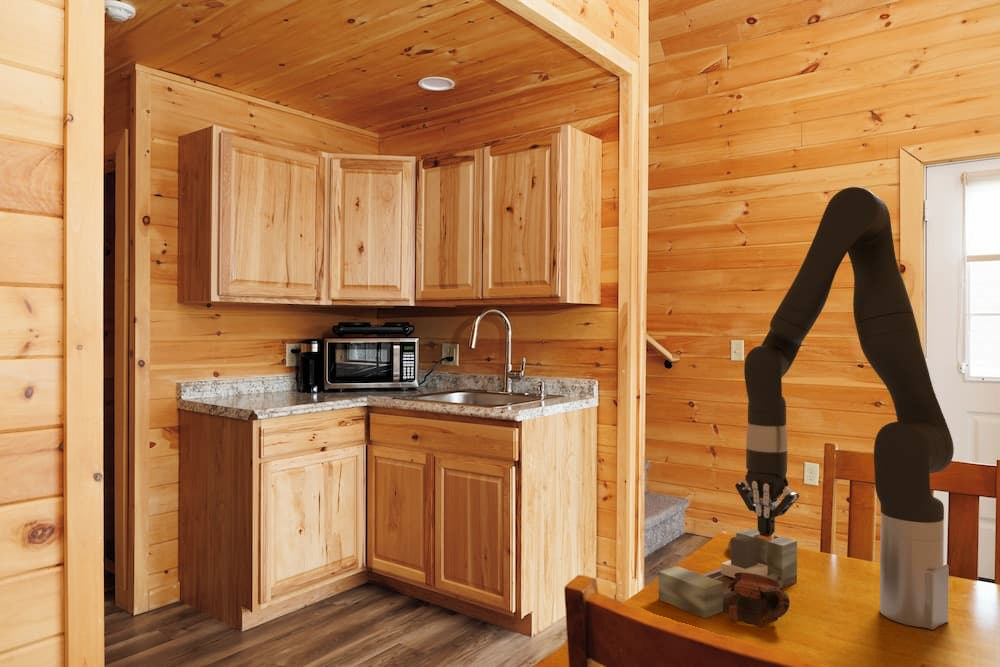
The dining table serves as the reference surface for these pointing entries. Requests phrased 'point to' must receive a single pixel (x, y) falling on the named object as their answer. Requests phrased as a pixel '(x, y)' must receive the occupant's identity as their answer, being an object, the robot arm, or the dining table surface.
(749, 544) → the carriage
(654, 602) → the dining table surface
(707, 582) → the rail base
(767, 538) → the plunger
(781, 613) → the pottery mug
